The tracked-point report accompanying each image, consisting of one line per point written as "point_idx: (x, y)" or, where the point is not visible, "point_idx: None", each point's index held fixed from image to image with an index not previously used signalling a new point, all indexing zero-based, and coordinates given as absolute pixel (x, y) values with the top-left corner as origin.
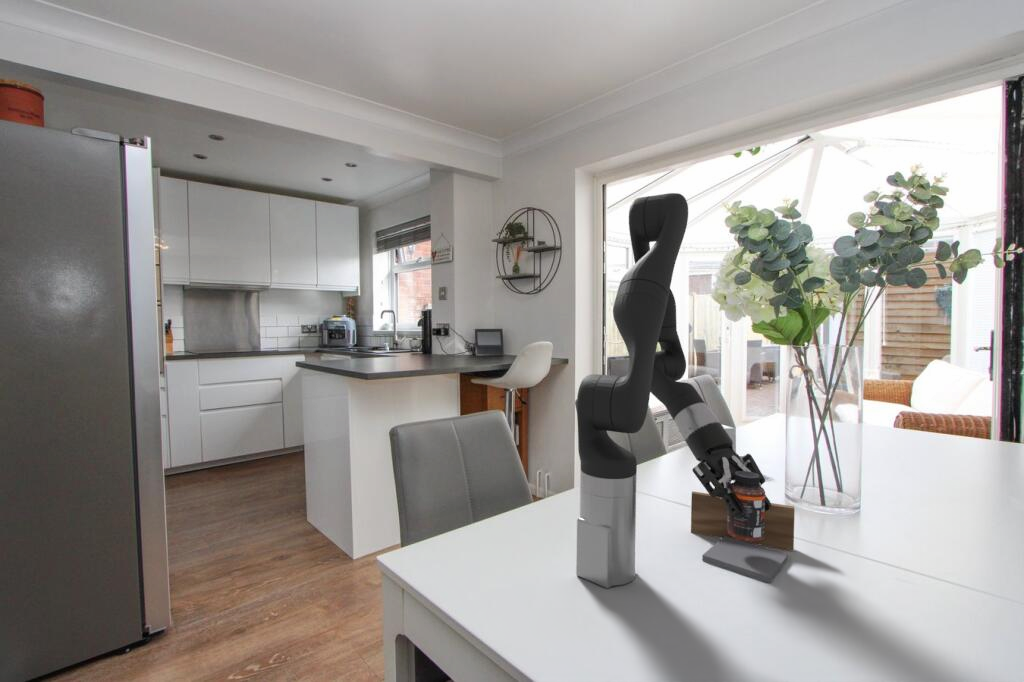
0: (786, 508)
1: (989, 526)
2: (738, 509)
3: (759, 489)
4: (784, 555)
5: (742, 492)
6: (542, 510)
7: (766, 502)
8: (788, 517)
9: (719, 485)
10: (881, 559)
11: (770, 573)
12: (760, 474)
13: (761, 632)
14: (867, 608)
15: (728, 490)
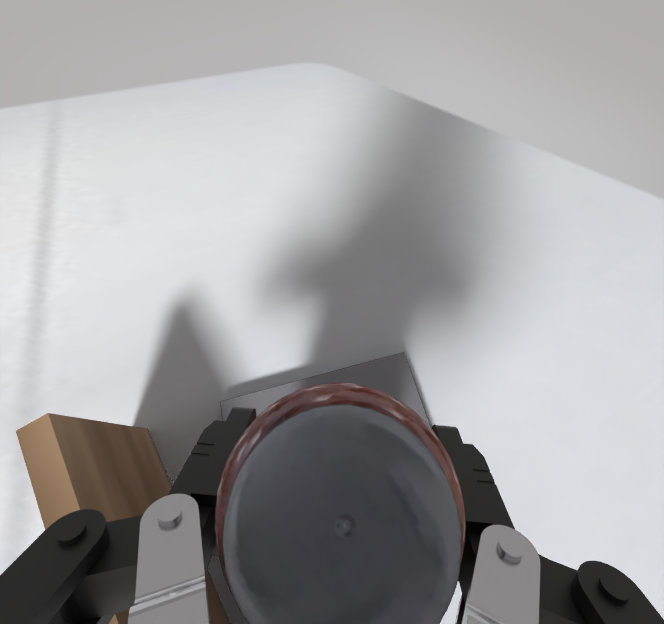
0: (61, 444)
1: None
2: (472, 454)
3: (336, 400)
4: (237, 403)
5: (450, 464)
6: None
7: (249, 422)
8: (85, 438)
9: (624, 616)
10: (19, 276)
11: (384, 363)
12: (24, 578)
13: (591, 261)
14: (313, 204)
15: (527, 549)
